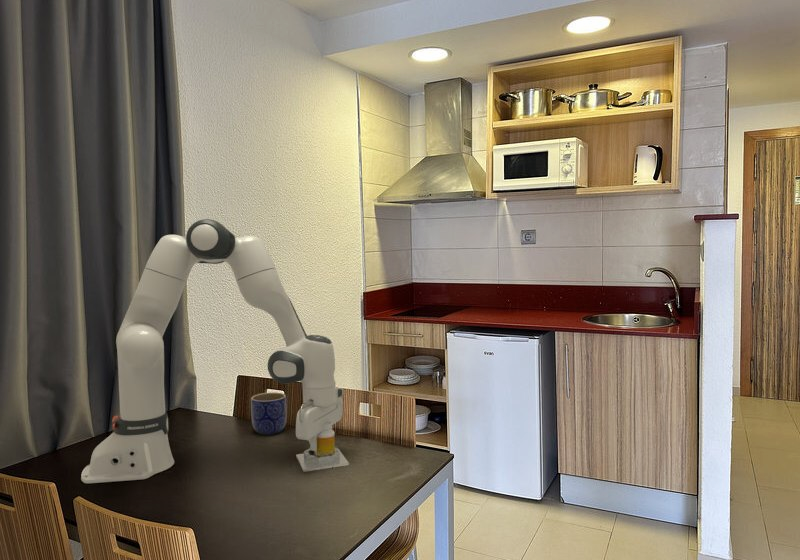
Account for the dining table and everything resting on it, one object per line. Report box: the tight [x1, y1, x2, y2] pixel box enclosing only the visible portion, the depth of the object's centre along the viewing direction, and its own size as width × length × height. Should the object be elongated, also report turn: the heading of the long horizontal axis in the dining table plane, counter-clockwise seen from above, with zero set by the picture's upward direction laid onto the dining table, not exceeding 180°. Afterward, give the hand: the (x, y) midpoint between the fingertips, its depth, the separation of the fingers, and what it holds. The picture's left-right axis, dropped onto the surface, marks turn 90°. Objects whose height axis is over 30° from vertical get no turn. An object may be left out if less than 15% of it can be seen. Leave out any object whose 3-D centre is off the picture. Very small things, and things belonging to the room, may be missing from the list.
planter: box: [250, 392, 288, 436], centre depth 190 cm, size 11×11×11 cm
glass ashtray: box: [295, 446, 350, 473], centre depth 164 cm, size 12×12×3 cm
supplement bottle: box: [315, 421, 336, 456], centre depth 163 cm, size 5×5×10 cm
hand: (320, 445), depth 164 cm, fingers closed on supplement bottle, 5 cm apart
